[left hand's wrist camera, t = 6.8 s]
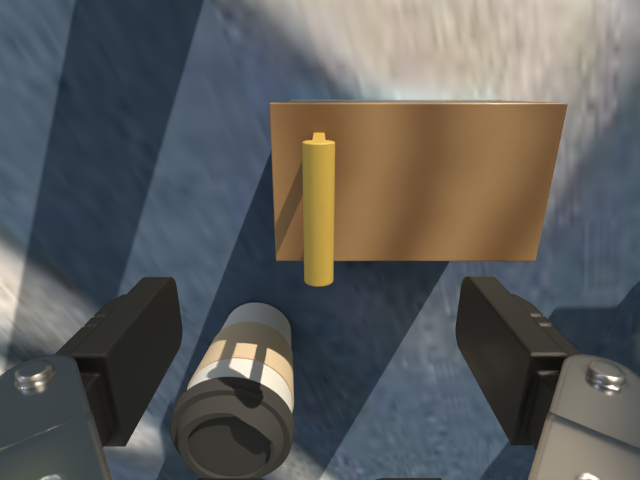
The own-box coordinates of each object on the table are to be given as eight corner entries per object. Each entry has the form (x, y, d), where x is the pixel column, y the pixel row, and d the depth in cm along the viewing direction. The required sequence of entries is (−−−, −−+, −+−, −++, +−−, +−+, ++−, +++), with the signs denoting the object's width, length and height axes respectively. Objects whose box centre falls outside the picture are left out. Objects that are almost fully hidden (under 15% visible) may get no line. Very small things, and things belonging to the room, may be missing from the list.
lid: (277, 254, 28) (261, 313, 21) (271, 102, 25) (249, 106, 17) (526, 254, 28) (603, 314, 21) (556, 102, 25) (661, 106, 17)
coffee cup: (262, 381, 43) (234, 520, 29) (196, 332, 41) (132, 456, 27) (320, 330, 41) (320, 454, 27) (253, 275, 39) (216, 379, 25)
